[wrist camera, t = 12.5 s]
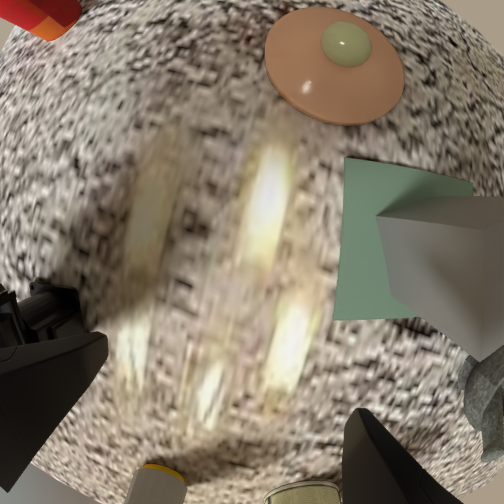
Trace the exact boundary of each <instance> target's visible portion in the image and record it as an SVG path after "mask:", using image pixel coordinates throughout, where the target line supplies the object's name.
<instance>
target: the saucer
mask: <svg viewBox="0 0 504 504" xmlns="http://www.w3.org/2000/svg"><path fill="white" fill-rule="evenodd" d="M264 58H265V67H266V71H267V74H268V77H269V79H270V81H271V83H272V84H273V86H274V88H275V89H276V90H277V92H278V93H279V94H280V95H281V96H282V97H283V98H284V99H285V100H286V101H287V102H288V103H289V104H290V105H291V106H293V107H294V108H296V109H297V110H298V111H300V112H302V113H303V114H305V115H307V116H309V117H311V118H313V119H316V120H318V121H321V122H324V123H328V124H332V125H337V126H358V125H364V124H367V123H370V122H372V121H374V120H376V119H378V118H380V117H381V116H383V115H384V114H386V113H387V112H388V111H390V110H391V109H392V108H393V107H394V106H395V105H396V104H397V102H398V101H399V99H400V97H401V95H402V92H403V88H404V71H403V67H402V63H401V61H400V58H399V56H398V54H397V52H396V50H395V49H394V47H393V46H392V44H391V43H390V42H389V41H388V39H387V38H386V37H385V36H384V35H383V34H382V33H381V32H380V31H379V30H378V29H376V28H375V27H374V26H373V25H371V24H370V23H368V22H367V21H365V20H363V19H361V18H360V17H358V16H355V15H353V14H351V13H348V12H345V11H342V10H338V9H334V8H327V7H308V8H302V9H298V10H295V11H292V12H290V13H288V14H286V15H284V16H283V17H281V18H280V19H279V20H278V21H277V22H275V24H274V25H273V26H272V27H271V29H270V31H269V33H268V35H267V38H266V43H265V56H264Z"/></svg>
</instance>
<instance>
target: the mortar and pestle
mask: <svg viewBox="0 0 504 504" xmlns="http://www.w3.org/2000/svg"><path fill="white" fill-rule="evenodd" d="M458 387H460V388H461V389H462V390H464V391H465V393H464V411H465V415H466V417H467V419H468V421H469V423H470V424H471V425H472V426H473V428H474V429H475V430H477V431H482V440H483V453H482V455H481V461H483V462H490V461H493V460H496V459H498V458H499V457H501V456H502V455H503V454H504V345H502V346H501V347H500V348H498V349H497V350H496V351H495V352H493V353H492V354H491V355H489V356H488V357H486V358H485V359H484V360H482V361H481V362H479V361H477V360H476V359H475V358H474V357H472V356H471V355H469V357H468V358H467V359H466V360H465V362H464V364H463V366H462V368H461V370H460V372H459V374H458Z"/></svg>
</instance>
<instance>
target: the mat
mask: <svg viewBox="0 0 504 504" xmlns="http://www.w3.org/2000/svg"><path fill="white" fill-rule="evenodd" d="M438 196H473V183H472V182H468V181H464V180H461V179H457V178H453V177H449V176H445V175H441V174H436V173H432V172H427V171H423V170H418V169H413V168H408V167H403V166H397V165H392V164H386V163H380V162H374V161H367V160H360V159H353V158H344V199H343V220H342V235H341V248H340V260H339V270H338V280H337V289H336V297H335V305H334V312H333V320H369V319H390V318H406V317H420V316H418V315H417V314H416V313H414V312H413V311H412V310H410V309H409V308H407V307H406V306H405V305H403V304H402V303H401V302H399V301H398V300H396V299H395V298H394V297H392V296H391V293H390V286H389V280H388V274H387V268H386V263H385V257H384V252H383V247H382V242H381V238H380V233H379V229H378V224H377V220H376V216H377V215H381V214H384V213H387V212H390V211H393V210H397V209H400V208H403V207H406V206H409V205H413V204H416V203H419V202H422V201H425V200H429V199H432V198H435V197H438Z"/></svg>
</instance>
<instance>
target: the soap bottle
mask: <svg viewBox="0 0 504 504" xmlns="http://www.w3.org/2000/svg"><path fill="white" fill-rule="evenodd" d="M186 493H187V487H186V485H185V483H184V479H183V477H182V476H181V475H180V474H179V473H177V472H176V471H174V470H172V469H170V468H168V467H165V466H162V465H157V464H146V465H144V466H143V467H142V468H139V469H138V470H136V471H135V473H134V476H133V479H132V481H131V484H130V487H129V491H128V494H127V497H126V500H125V503H124V504H183V502H184V499H185V496H186Z"/></svg>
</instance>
